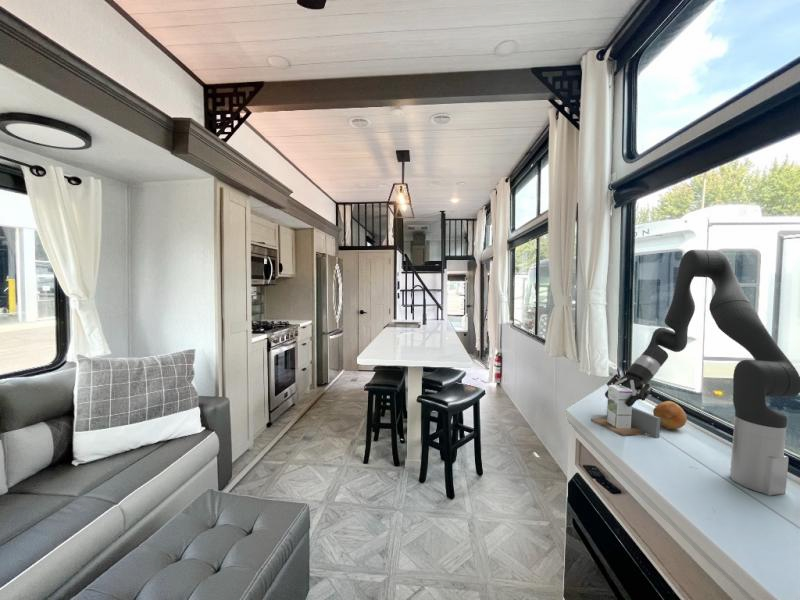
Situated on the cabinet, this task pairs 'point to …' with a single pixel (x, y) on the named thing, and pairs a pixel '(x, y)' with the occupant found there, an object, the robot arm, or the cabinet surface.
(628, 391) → the syrup box
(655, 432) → the grey barrier panel
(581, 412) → the cabinet surface
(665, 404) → the onion
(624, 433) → the walnut pad
